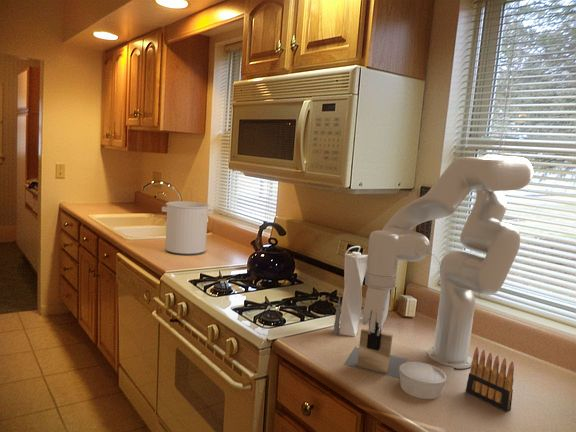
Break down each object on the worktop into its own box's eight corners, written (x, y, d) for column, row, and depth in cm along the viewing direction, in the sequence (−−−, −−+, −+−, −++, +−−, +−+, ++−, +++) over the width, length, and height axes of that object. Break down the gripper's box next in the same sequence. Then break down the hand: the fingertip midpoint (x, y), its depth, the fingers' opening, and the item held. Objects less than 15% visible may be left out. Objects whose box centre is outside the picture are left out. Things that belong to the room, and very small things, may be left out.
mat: (355, 348, 139) (355, 347, 139) (406, 361, 134) (407, 358, 134) (343, 366, 127) (343, 364, 127) (399, 380, 122) (399, 378, 122)
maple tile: (359, 362, 129) (363, 327, 128) (388, 369, 126) (392, 333, 125) (356, 365, 127) (361, 329, 126) (386, 373, 124) (391, 336, 123)
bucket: (156, 254, 233) (158, 205, 229) (163, 245, 254) (165, 199, 251) (209, 257, 235) (211, 208, 232) (212, 247, 257) (214, 203, 253)
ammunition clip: (465, 391, 119) (471, 346, 117) (469, 390, 120) (475, 345, 118) (507, 412, 110) (514, 363, 109) (510, 410, 112) (518, 362, 110)
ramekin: (453, 401, 114) (456, 381, 113) (412, 405, 110) (415, 384, 110) (427, 379, 124) (429, 360, 123) (389, 382, 121) (391, 362, 120)
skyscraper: (337, 327, 155) (345, 243, 151) (361, 331, 153) (370, 246, 149) (332, 336, 147) (341, 248, 143) (358, 341, 145) (367, 252, 141)
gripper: (371, 270, 128) (365, 335, 131) (359, 284, 114) (352, 356, 117) (399, 275, 125) (392, 341, 128) (390, 289, 112) (382, 363, 114)
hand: (373, 348), depth 122 cm, fingers closed
